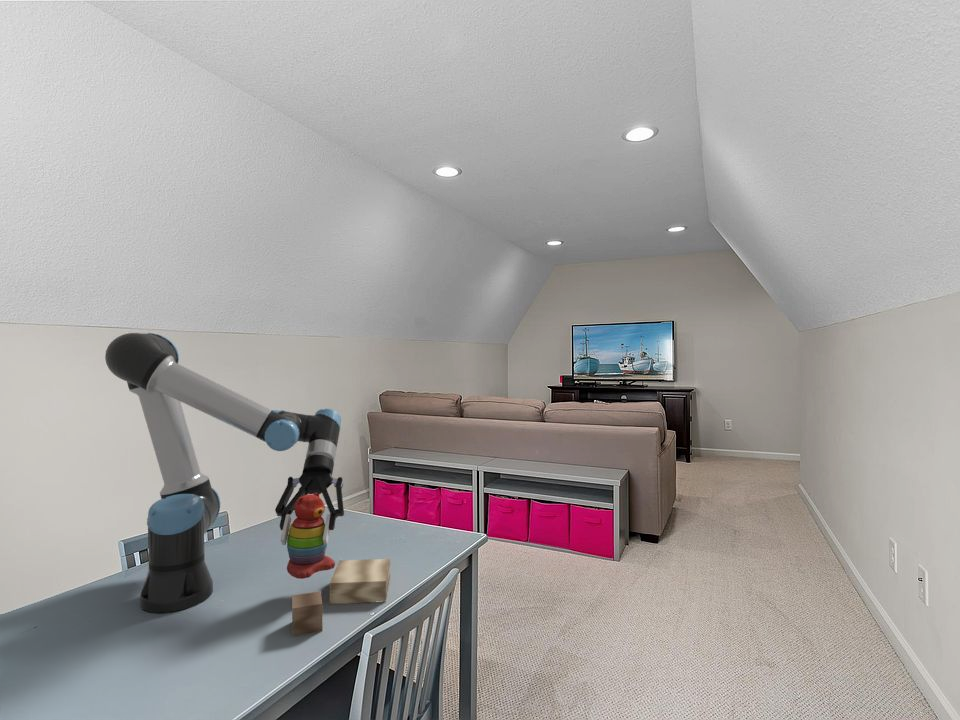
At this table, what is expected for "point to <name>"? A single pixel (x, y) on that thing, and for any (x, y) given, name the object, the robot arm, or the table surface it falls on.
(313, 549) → the stacking bear
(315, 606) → the walnut cube
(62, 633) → the table surface
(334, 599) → the maple block
